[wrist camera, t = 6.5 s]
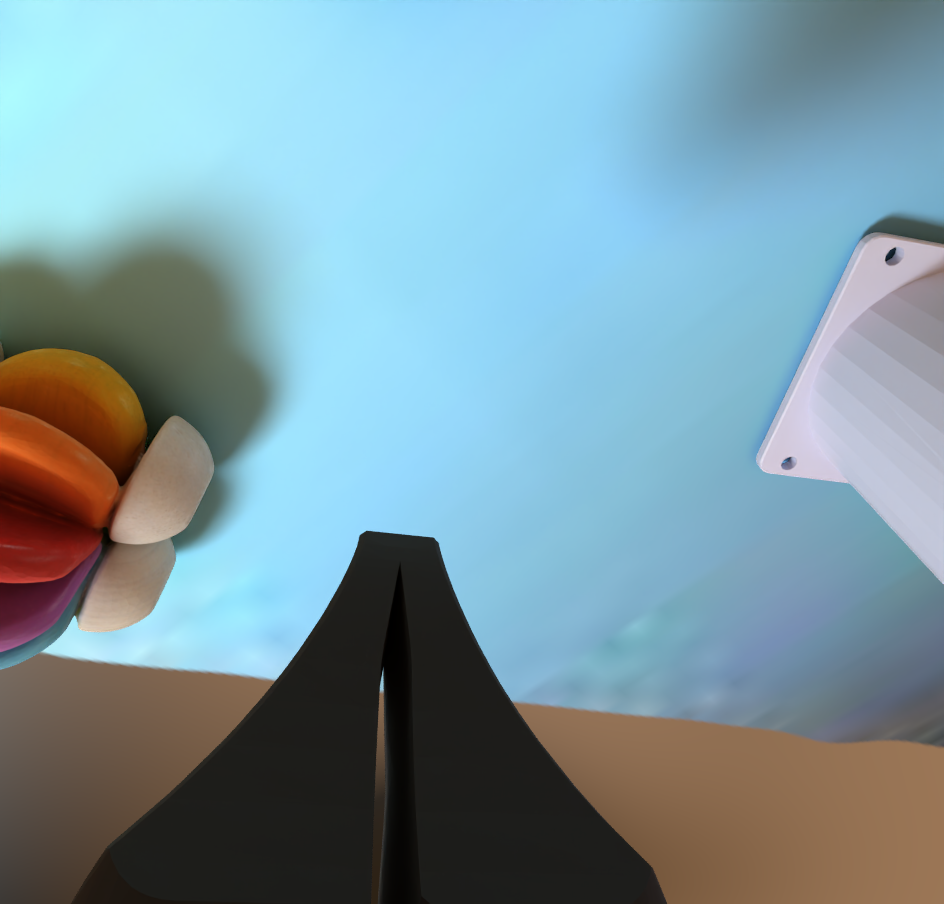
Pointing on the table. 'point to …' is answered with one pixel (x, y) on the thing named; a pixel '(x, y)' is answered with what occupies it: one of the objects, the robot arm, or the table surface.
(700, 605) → the table surface
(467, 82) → the table surface
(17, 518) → the colorful rounded pieces cluster
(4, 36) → the table surface
